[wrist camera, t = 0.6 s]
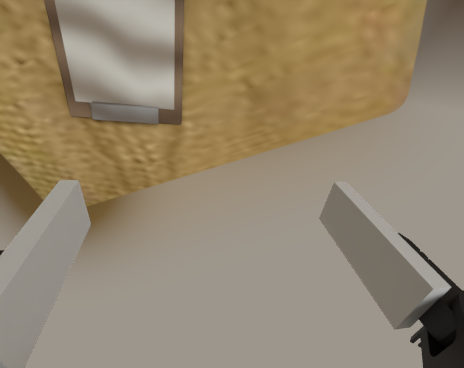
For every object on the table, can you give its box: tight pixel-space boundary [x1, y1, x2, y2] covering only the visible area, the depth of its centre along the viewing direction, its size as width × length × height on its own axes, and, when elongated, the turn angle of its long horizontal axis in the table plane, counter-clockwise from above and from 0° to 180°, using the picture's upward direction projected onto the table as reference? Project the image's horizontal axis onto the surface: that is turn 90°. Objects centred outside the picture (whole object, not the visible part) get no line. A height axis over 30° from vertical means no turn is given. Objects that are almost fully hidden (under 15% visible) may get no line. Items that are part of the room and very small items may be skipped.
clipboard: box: [45, 0, 184, 124], centre depth 27 cm, size 18×14×2 cm
